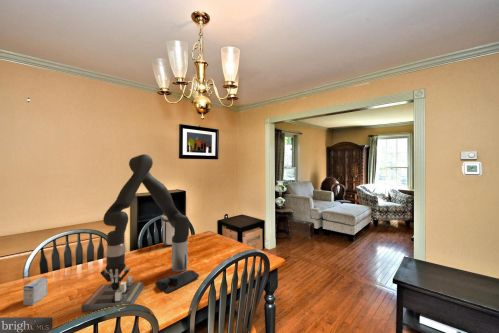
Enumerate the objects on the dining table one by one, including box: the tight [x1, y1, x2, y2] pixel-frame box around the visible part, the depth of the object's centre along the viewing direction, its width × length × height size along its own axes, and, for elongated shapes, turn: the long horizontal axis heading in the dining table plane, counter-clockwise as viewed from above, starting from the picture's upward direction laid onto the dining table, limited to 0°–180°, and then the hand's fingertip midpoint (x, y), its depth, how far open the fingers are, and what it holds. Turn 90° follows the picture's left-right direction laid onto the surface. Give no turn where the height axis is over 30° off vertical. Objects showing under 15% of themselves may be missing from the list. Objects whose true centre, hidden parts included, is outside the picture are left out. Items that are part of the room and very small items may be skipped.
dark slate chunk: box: [154, 269, 200, 294], centre depth 124 cm, size 15×22×5 cm
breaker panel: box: [81, 275, 144, 313], centre depth 107 cm, size 20×17×7 cm
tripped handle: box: [119, 281, 127, 293], centre depth 108 cm, size 2×2×4 cm
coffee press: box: [160, 212, 175, 248], centre depth 182 cm, size 17×16×30 cm
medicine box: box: [22, 277, 48, 306], centre depth 106 cm, size 8×4×9 cm, turn 5°
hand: (115, 289), depth 108 cm, fingers closed
